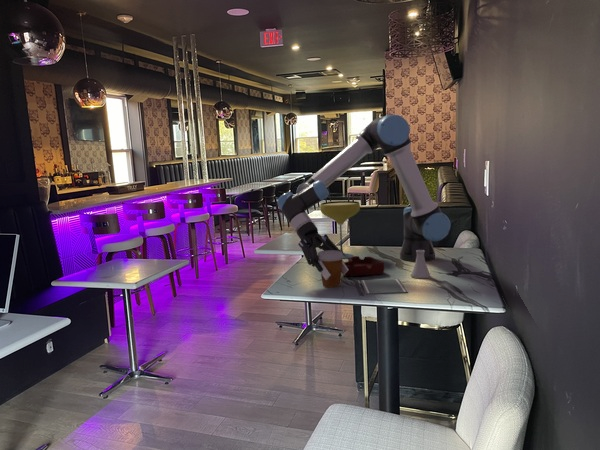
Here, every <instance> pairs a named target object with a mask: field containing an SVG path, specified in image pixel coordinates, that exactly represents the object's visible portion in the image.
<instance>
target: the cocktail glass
mask: <svg viewBox="0 0 600 450" xmlns="http://www.w3.org/2000/svg"><path fill="white" fill-rule="evenodd" d="M319 208H320V212H321V213H322V215H324V216H325V217H328V218H329V219H332V220H334V222H336V223H337V224H338V226H339V231H340V233H339V236H340V238H339V239H340V241H339V243H340V248H339V249H340V251H341V252H342V254H343V255H344V257H343V259H342V260H347V259H348V258H350V257H354V255H353V254H352V253H344V251H343V249H344V248H343V237H342V235H343V233H342V232H343V231H342V226H343V225H344V224H345V222H346V221H348V220H349V219H350V218H353V217H354V216H356V215H357V214H358V213H359V212H360V210H361V204H360V202H359V201H356V200H355V201H354V200H353V201H352V200H340V201H338V200H337V201H336V200H335V201H326V202H321V203H320V206H319Z"/></svg>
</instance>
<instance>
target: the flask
mask: <svg viewBox="0 0 600 450" xmlns="http://www.w3.org/2000/svg"><path fill="white" fill-rule="evenodd" d="M416 252H417V258H416V261H414V262H415V263H414V265H413V268H412V272H411V274H410V277H411V278H413V279H414V278H415V279H428V278H430V277H431V273H430V271H429V268H428V265H427V263H426V262H427V261H425V258H424V252H425V251H424V250H416Z"/></svg>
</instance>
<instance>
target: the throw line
mask: <svg viewBox="0 0 600 450" xmlns="http://www.w3.org/2000/svg"><path fill="white" fill-rule="evenodd" d="M354 283H355V285H356V288H357V291H358V295H359V297H364V293H363V290H362V287H361V285H360V282H359V279H355V280H354Z"/></svg>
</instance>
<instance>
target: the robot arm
mask: <svg viewBox="0 0 600 450" xmlns="http://www.w3.org/2000/svg"><path fill="white" fill-rule="evenodd" d="M410 132H411V127H410V125H409V123H408V121H407V120H406V118H404V116H402V115H398V114H387V115H384V116H380V117H377V118H375V119H373V120H372V121H371V122H370V123H369V124H368V125H367V126H366V127H365V128H364V129H362V131H360V132H359V133H358V134H357V135H356V136H355V139H354V141H352V142H351V143H350V144H349V145H347V146H346V147H345V148H344V149H343V150H342V151H340V152H339V153H338V154H336V155H335V157H333V158H332V159H331V160H330V161H328V162H327V163H326V164H325V165H323V167H322V168H320V169H319V170H318V171H316V172H315V173H314V174H313V175H312V176H311V177H310V178H308V179H307V180H305V182H303V183H301V184H299V185H298V187H297V189H296V193H295V194H294V193H293V192H290V191H287V192H286V193H283V194H282V195H279V198H278V199H277V207H278V208H279V210H280V211H281V213H282V215H283V216H284V218H285V219H286V220H287V222H288V223H289V224H290V226H291V227H292V229H293V230H294V232H295V233H296V235H297V236H298V237H299V240H300V241H299V242H298V243H297V244H298V246H299V247H300V249H301V251H302V253H303V255H304V258H305V260H306V262H307V264H308V266H312V267H313V268H314V267H315V268H316V270H317V271H318V272H319V273H320V275H321V274H322V275H323V277H324V278H325V280H327V279H328V278H329V277H330V276H331V275H330V273H329V272H328V270H327V269H326V267H325V266H324V264H323V263H322V262H321V261H319V260H318V251H317V249H320V250H322V251H327V250H337V251H340V248H338V246H337V245H336V244H335V243H334V242H333V241H332V240H331V239H330V237H329V236H328V235H327V234H324V235H321V234H320V233H319V232H318V231H319V230H318V227H317V226H316V224H315V223H314V222H313V220H312V218H311V217H310V216H309V214H308V213H307V212H306V211H308V210H309V209H311V208H313V207H314V206H316V205H318V204H319V203H320V202H322V201H324V200H325V199H326V198H328V196H329V195H330V192H329V189H328V187H329V186H331V184H333V183H334V182H335V181H336V180H337V179H339V178H340V177H341V176H343V174H344V173H346V172H347V171H349V169H350V168H351V167H353V166H354V165H355V164H357V162H359V161H360V160H361V159H363V158H364V157H365V156H366V155H368V154H372V153H373V152H374V151H376V150H378V149H379V148H380V150H381V152H382V154H383V156H386V157H388V158H389V159H390V162H391V164H392V166H393V169H394V171H395V173H396V176H397V178H398V181H399V182H400V184H401V187H402V189H403V191H404V194H405V196H406V198H407V200H408V203H409V205H410V206H406V207H404V208H403V215H402V217H403V242H402V246H401V248H400V252H399V258H400V259H401V260H403V261H409V262H416V258H417V252H416V250H424V251H425V252H424V258H425V262H429V261H433V260H435V259H436V251H435V249H434V246H433V242H439V241H441V240H443V239H445V238H446V237H447V236H448V235H449V232H450V230H451V227H452V224H451V220H450V219H449V217H448V216H447V215H446V214H445V213H443V212H442V210H441V208H440V205H439V203H438V202H436V201H433V199H432V196H431V195H430V192H429V190H428V187H427V185H426V183H425V181H424V178H423V176H422V173H421V172H420V168H419V167H418V164H417V162H416V160H415V158H414V155H413V153H412V150H411V149H410V147H411V144H412V140H411V138H410ZM344 262H345V261H344V259H342V269H341V272H342V273H343V274H342V273H341V274H342V275H344V274H346V272H347V271H348V270H349V269H348V268H347V267H346V265H345V264H344Z"/></svg>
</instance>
